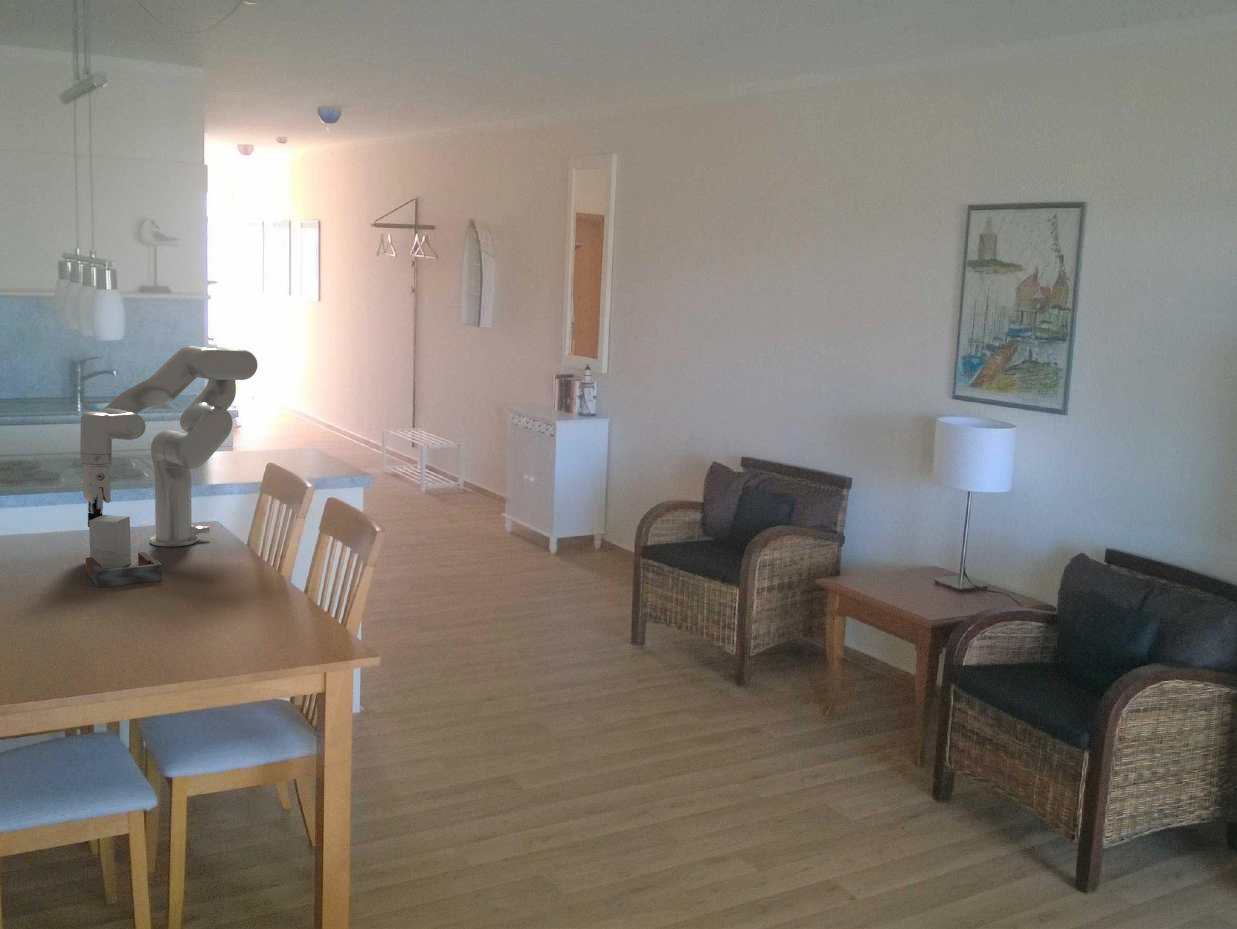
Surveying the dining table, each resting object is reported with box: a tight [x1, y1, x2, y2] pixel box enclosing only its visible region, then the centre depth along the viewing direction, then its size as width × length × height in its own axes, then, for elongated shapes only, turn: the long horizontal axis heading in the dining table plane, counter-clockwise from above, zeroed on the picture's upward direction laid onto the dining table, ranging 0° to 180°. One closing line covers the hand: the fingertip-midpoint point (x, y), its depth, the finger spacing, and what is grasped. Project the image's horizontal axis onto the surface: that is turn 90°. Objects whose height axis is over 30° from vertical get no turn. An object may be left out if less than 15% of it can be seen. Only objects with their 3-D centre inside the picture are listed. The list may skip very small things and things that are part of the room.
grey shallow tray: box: [85, 551, 164, 588], centre depth 281 cm, size 15×14×4 cm
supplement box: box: [88, 514, 132, 570], centre depth 290 cm, size 7×7×13 cm
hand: (95, 527), depth 298 cm, fingers closed
